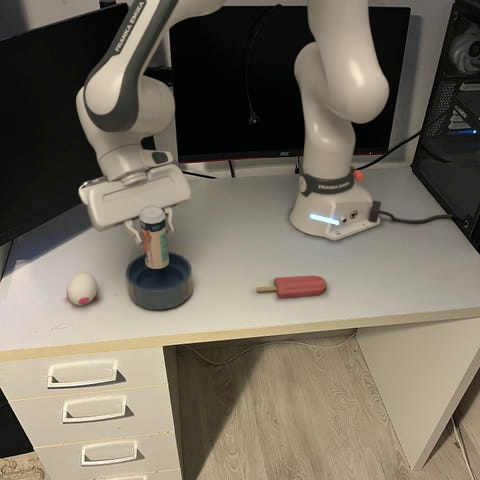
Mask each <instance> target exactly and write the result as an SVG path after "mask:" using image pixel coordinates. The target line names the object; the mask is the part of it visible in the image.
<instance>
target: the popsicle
mask: <svg viewBox="0 0 480 480" xmlns="http://www.w3.org/2000/svg"><path fill="white" fill-rule="evenodd" d="M273 284H274V285H272V286H260V287H259V286H258V287H257V288H256V292H259V293H260V292H273V291H274V292H275V291H276V294H277V298H278V299H290V298H300V297H303V298H304V297H313V296H320V295H322V294H324V293H325V291H327V286H328V284H327V281H326V280H325V278H323V277H321V276H319V275H298V276H284V277H283V276H281V277H275V278H274V280H273Z"/></svg>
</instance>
